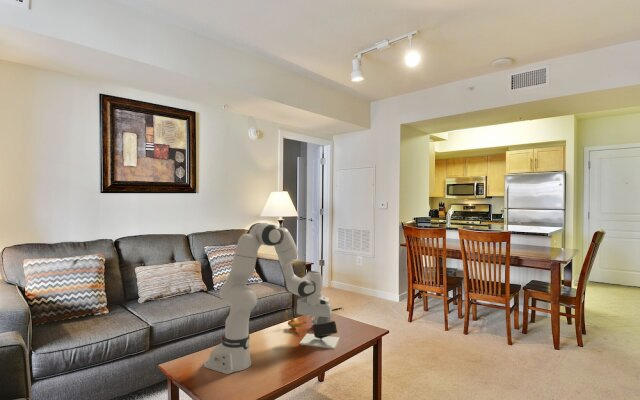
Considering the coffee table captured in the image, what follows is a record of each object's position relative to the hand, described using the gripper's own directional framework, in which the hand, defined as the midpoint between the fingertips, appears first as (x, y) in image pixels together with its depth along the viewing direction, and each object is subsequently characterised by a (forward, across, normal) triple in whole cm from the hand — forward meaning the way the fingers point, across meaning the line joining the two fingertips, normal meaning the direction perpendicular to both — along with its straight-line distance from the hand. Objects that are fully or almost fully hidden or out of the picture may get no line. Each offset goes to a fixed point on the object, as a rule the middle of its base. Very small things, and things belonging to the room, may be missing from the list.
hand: (314, 323), depth 193 cm
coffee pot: (+10, +4, +22) cm, 24 cm away
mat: (+10, +4, 0) cm, 11 cm away
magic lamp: (+10, -15, +12) cm, 22 cm away
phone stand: (+5, +2, -1) cm, 5 cm away
